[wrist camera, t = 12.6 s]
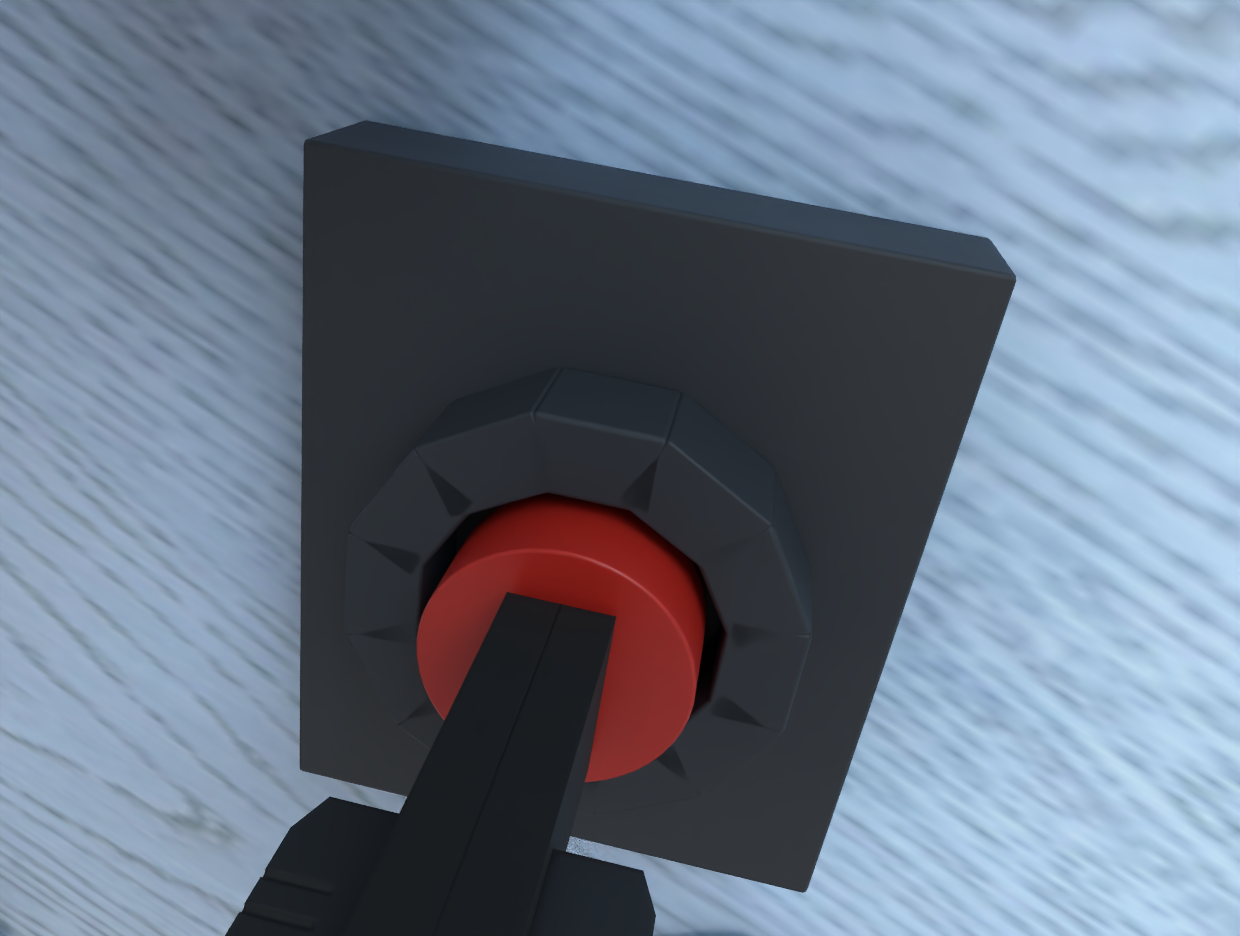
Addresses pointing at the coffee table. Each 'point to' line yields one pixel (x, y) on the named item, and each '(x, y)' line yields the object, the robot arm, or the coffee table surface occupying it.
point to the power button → (588, 579)
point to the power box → (628, 450)
